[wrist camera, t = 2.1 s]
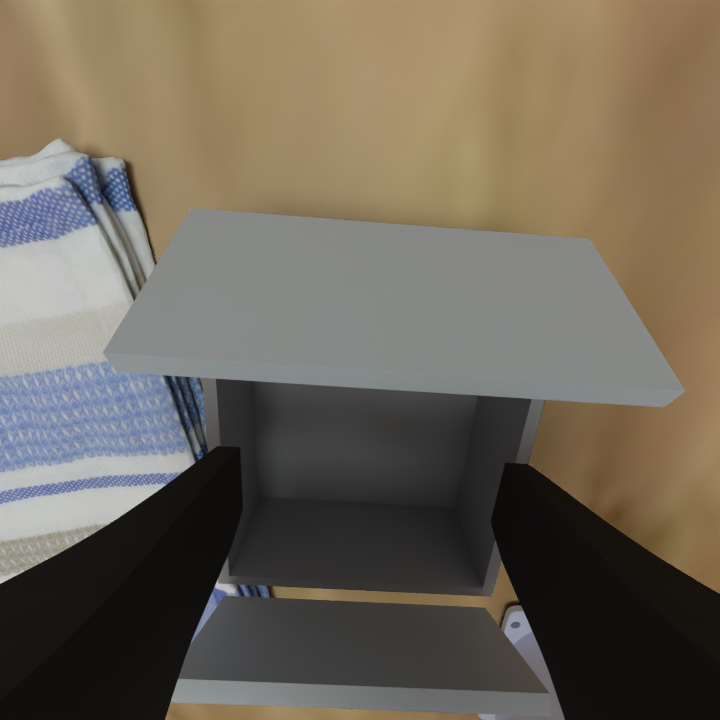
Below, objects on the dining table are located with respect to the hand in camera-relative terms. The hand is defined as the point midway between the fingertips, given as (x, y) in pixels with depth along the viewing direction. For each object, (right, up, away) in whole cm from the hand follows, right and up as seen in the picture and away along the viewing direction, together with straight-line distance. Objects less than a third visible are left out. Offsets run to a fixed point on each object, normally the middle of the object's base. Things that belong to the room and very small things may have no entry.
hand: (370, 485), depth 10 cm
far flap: (0, -5, +1) cm, 5 cm away
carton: (0, +2, +6) cm, 6 cm away
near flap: (0, +5, -2) cm, 5 cm away
